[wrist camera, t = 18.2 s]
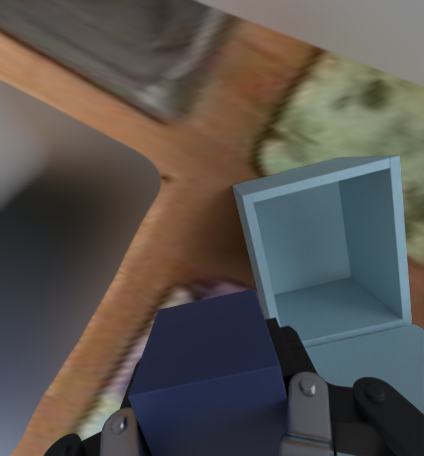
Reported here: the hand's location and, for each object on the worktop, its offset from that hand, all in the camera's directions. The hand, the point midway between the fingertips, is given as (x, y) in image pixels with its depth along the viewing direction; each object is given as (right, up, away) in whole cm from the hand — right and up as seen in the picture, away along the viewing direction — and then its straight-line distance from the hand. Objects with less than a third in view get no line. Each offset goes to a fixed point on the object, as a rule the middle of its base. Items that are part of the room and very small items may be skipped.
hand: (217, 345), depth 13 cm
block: (0, 0, 0) cm, 0 cm away
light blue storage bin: (+10, +5, +19) cm, 22 cm away
